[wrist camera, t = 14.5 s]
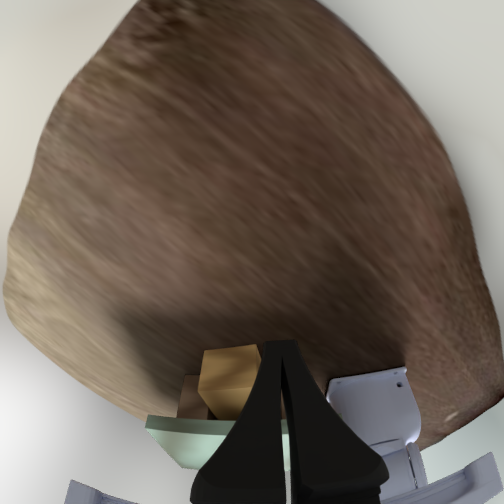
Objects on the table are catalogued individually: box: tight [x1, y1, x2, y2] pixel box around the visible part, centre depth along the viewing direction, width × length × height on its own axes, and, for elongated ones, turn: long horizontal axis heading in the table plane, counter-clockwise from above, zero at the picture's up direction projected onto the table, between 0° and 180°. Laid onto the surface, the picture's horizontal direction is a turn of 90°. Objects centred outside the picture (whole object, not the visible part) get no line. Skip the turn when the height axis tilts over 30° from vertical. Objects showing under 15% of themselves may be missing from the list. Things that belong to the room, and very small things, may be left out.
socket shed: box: [145, 375, 343, 471], centre depth 26 cm, size 17×12×8 cm
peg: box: [198, 344, 261, 421], centre depth 26 cm, size 5×12×5 cm, turn 13°
